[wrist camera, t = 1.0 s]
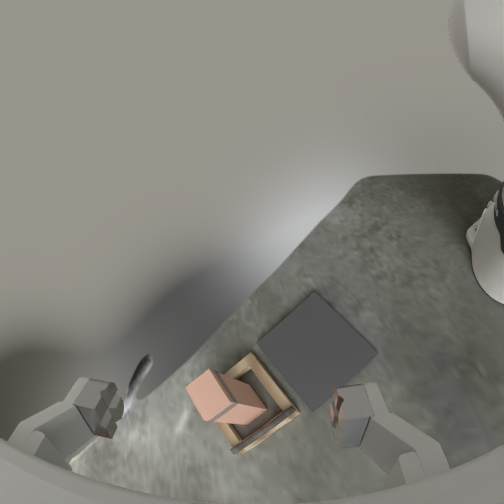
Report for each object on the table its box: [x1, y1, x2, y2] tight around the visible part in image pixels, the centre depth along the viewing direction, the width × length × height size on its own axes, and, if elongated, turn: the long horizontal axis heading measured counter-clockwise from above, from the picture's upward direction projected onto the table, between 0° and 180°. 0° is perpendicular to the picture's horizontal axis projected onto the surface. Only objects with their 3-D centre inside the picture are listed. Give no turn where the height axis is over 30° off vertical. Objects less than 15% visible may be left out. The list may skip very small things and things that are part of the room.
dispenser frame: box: [216, 353, 300, 455], centre depth 40 cm, size 11×12×2 cm
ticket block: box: [185, 369, 268, 425], centre depth 36 cm, size 4×5×12 cm
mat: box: [257, 291, 378, 411], centre depth 41 cm, size 12×14×1 cm
